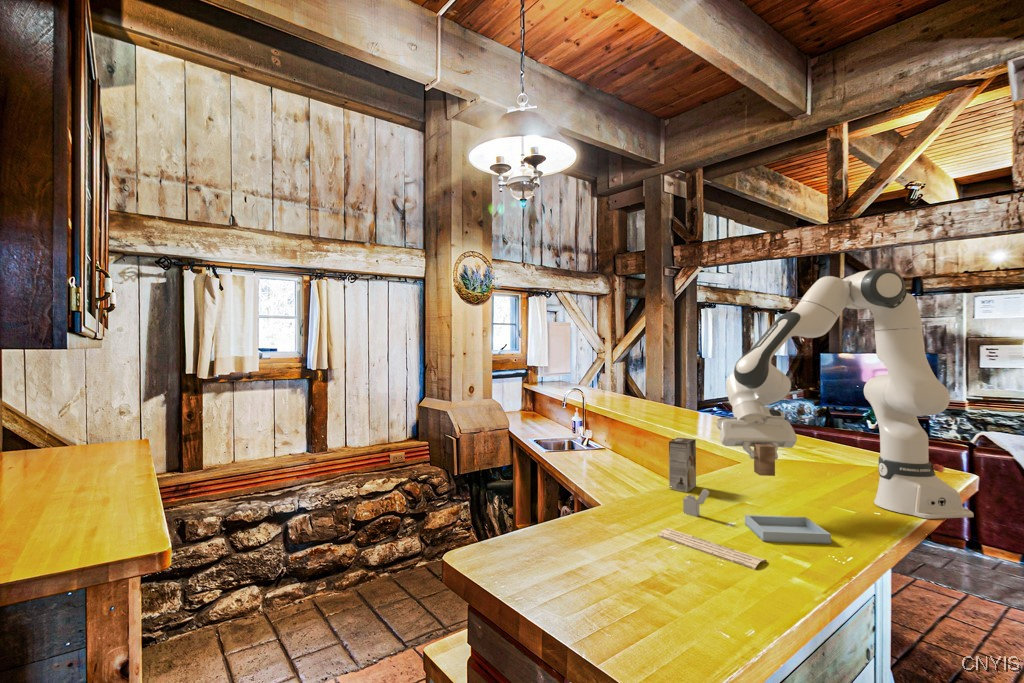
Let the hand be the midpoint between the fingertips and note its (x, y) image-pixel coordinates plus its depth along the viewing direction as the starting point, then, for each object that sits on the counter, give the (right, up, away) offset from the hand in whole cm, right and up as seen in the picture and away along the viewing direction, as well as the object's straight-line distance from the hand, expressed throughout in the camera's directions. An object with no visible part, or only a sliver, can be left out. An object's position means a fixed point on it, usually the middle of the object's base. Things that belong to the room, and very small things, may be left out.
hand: (764, 458), depth 134 cm
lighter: (-19, -17, +1) cm, 25 cm away
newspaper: (-24, -17, -21) cm, 36 cm away
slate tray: (-1, -16, -12) cm, 20 cm away
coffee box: (-13, -17, +27) cm, 35 cm away
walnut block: (0, -4, 0) cm, 4 cm away
